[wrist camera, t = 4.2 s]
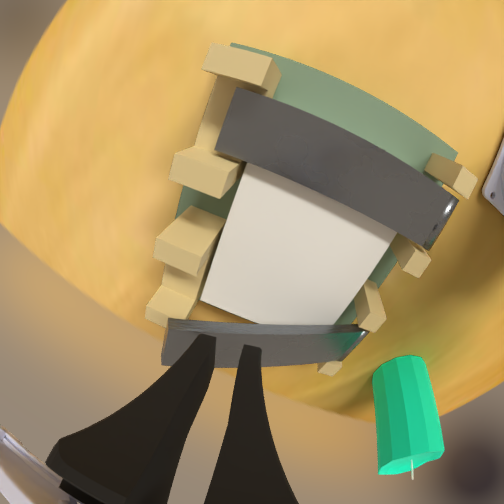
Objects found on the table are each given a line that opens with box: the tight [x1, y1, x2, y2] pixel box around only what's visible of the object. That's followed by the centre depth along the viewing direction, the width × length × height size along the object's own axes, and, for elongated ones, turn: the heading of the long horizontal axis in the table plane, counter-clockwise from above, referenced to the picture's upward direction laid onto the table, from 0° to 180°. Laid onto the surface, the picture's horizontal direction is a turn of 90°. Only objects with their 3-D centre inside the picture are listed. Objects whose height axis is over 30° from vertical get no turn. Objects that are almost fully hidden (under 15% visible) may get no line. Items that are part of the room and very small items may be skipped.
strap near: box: [214, 87, 459, 251], centre depth 11 cm, size 11×3×1 cm, turn 69°
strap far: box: [161, 318, 370, 368], centre depth 13 cm, size 11×3×1 cm, turn 72°
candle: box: [372, 355, 445, 479], centre depth 17 cm, size 6×6×12 cm
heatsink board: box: [145, 43, 478, 376], centre depth 14 cm, size 14×17×6 cm
